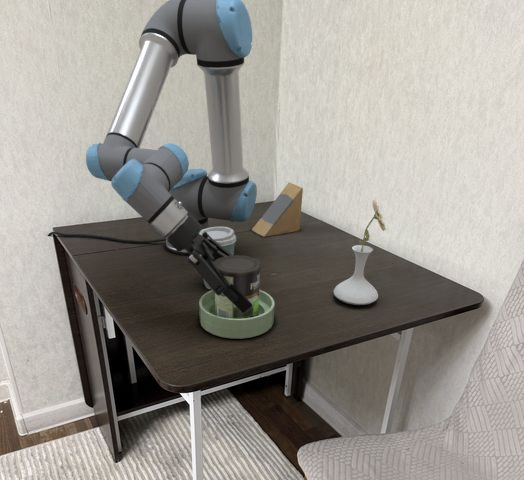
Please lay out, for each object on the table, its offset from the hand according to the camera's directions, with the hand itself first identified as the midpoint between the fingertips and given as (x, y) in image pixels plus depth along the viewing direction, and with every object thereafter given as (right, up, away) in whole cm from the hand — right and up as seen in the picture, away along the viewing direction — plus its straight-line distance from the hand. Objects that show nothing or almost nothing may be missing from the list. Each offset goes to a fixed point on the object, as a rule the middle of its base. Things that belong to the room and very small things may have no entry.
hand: (250, 297), depth 109 cm
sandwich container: (+7, +30, +61) cm, 68 cm away
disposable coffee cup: (-10, +5, +20) cm, 23 cm away
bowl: (-3, -5, +3) cm, 7 cm away
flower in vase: (+27, +1, +16) cm, 32 cm away
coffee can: (-3, -5, +3) cm, 7 cm away
